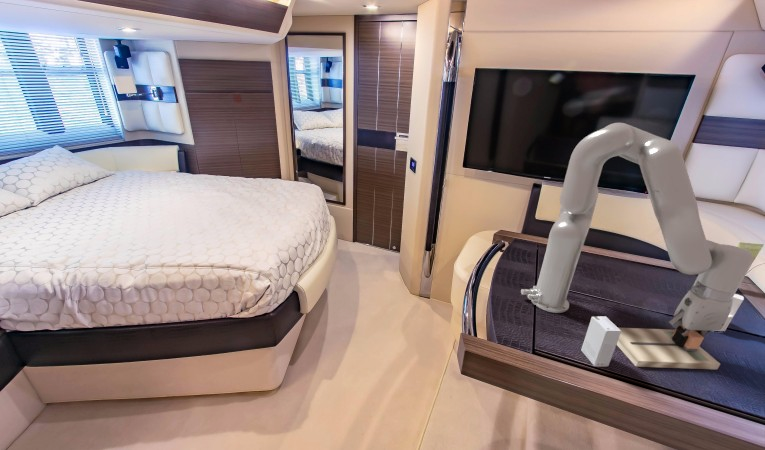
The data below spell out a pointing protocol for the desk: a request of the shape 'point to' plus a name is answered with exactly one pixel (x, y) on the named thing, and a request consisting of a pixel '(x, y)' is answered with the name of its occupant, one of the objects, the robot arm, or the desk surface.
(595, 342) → the skincare box
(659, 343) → the fader board
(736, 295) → the cylinder with rectangular tab
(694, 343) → the fader tab
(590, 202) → the robot arm
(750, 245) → the tube
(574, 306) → the desk surface
